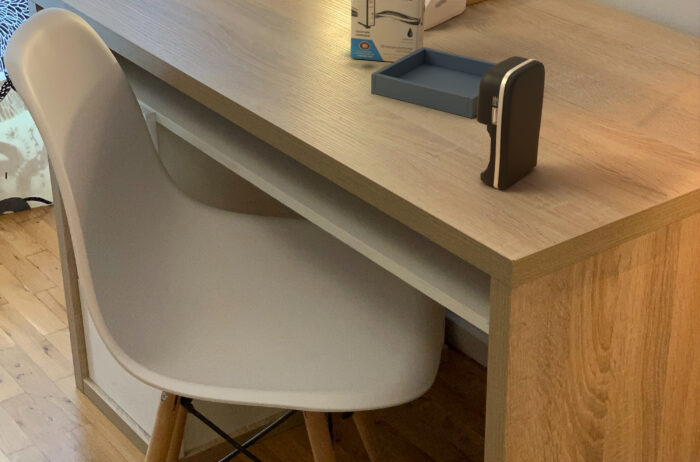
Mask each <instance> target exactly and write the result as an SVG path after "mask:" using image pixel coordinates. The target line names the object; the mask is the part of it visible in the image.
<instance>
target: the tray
mask: <svg viewBox="0 0 700 462" xmlns="http://www.w3.org/2000/svg"><path fill="white" fill-rule="evenodd" d="M498 63H499V62H494V61H489V60H484V59H479V58H476V57H471V56H467V55H462V54H457V53H453V52H448V51H444V50H440V49H435V48H431V47H426V46H423V47H422V48H420V49H418V50H416V51H414V52H412V53H410V54H409V55H407V56H405V57H403V58H401V59H399V60H397V61H395V62H390V63H389V64H387V65H386V66H384V67H382V68H380V69H378V70H375V71H374V72H372V73H371V74H370V75H371V76H370V93H371V94H375V95H379V96H381V97H386V98H391V99H394V100H398V101H402V102H406V103H410V104H414V105H417V106H422V107H425V108H429V109H434V110H437V111H442V112H445V113H449V114H452V115H457V116H461V117H465V118H469V119H473V118H475V117H477V104H478V95H479V87H480V81H481V78H482V76H483V74H484V73H485V72H486V71H487V70H488V69H490V68H491V67H493V66H495V65H496V64H498Z"/></svg>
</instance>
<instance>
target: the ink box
mask: <svg viewBox="0 0 700 462" xmlns="http://www.w3.org/2000/svg"><path fill="white" fill-rule="evenodd" d="M350 8H351V9H350V58H351V59H355V60H366V61H379V62H390V63H393V62H395V61H397V60H399V59H401V58H403V57H405V56H407V55H409V54H410V53H412V52H414V51H416V50H418V49H420V48H422V47H424V39H425V38H424V37H425V30H424V19H425V0H351V1H350Z"/></svg>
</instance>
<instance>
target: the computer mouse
mask: <svg viewBox="0 0 700 462" xmlns="http://www.w3.org/2000/svg"><path fill="white" fill-rule="evenodd" d="M466 7H467V0H425V19H424V31H427V30H429V29H431V28H433V27H436V26H438V25H440V24H442V23H444V22H446V21H448V20H450V19H452V18H454V17H456V16H459V15H460V14H462V13H464V11H465V10H466Z"/></svg>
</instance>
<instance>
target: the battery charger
mask: <svg viewBox="0 0 700 462" xmlns="http://www.w3.org/2000/svg"><path fill="white" fill-rule="evenodd" d="M497 63H498V64H496V65H495V66H493V67H491V68H490V69H488V70H487V71H486V72H485V73H484V74H483V76H482V78H481V81H480V87H479V95H478V104H477V115H476V122H477V123H478V124H482V125H485V126H486V131H487V133H488V135H489V137H490V145H489V146H490V151H489V161H488V163H487V167H486V169H484V170H483V171H481V172H480V175H479V178H480V181H481V182H482V183H484V184H486V185H488V186H492V187H493V188H495V189H501V190H504V189H507V188H508V187H509V186H511V185H513V184H514V183H515V182H517V181H519V180H520V179H521V178H523V177H525V176H526V175H527V174H528V173H530V172H531V171H532V170H533V169H535V168H536V167H537V166H538V157H539V156H538V154H539V145H540V134H541V124H542V116H543V107H544V96H545V95H544V93H545V83H546V69H545V65H544V63H543V62H542V61H539V60H538V59H536V58H527V57H522V56H515V55H513V56H511V57H508V58H506V59H504V60H502V61H500V62H497Z"/></svg>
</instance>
